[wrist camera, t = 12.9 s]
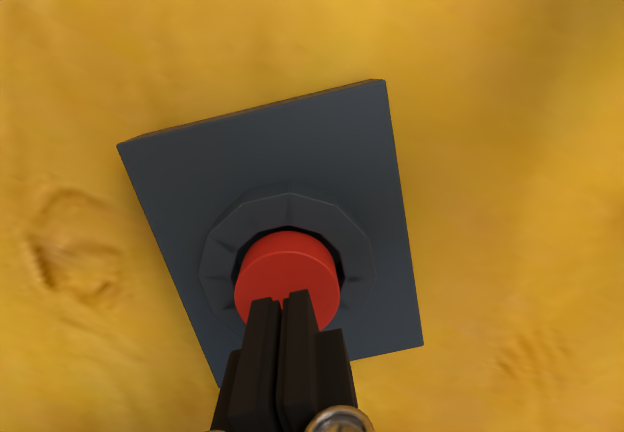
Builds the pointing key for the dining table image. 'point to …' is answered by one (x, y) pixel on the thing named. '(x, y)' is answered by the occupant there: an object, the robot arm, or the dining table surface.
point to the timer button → (288, 274)
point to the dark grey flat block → (284, 210)
